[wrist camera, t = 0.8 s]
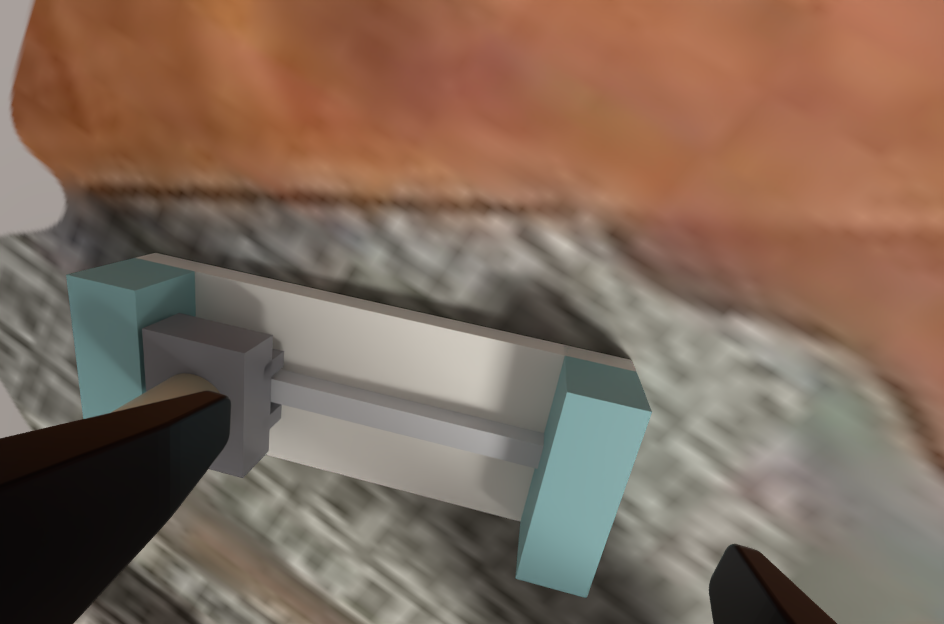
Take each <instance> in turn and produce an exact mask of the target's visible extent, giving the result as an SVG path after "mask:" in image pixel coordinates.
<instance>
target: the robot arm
mask: <svg viewBox="0 0 944 624" xmlns="http://www.w3.org/2000/svg"><path fill="white" fill-rule="evenodd" d="M230 425H231V399H230V398H229V397H228V396H227V395H224V394H220V393H217V392H214V391H209V390H206V391H201V392H197V393H193V394H189V395H184V396H180V397H176V398H172V399H167V400H163V401H159V402H154V403H150V404H146V405H142V406H137V407H133V408H129V409H124V410H120V411H116V412H112V413H107V414H103V415H99V416H94V417H90V418H86V419H82V420H77V421H73V422H69V423H65V424H60V425H56V426H52V427H47V428H43V429H39V430H35V431H30V432H26V433H22V434H17V435H14V436H9V437H5V438H0V624H73V623H74V622H75V621H76V620H77V619H78V618H79V617H80V616H81V615H82V614H83V613H84V612H85V610H86V609H87V608H88V607H89V606H90V605H91V604H92V603H93V602H94V601H95V600H96V599H97V597H98V596H99V595H100V594H101V593H102V592H103V591H104V590H105V589H106V588H107V587H108V586H109V584H110V583H111V582H112V581H113V580H114V579H115V578H116V577H117V576H118V575H119V574H120V573H121V571H122V570H123V569H124V568H125V567H126V566H127V565H128V564H129V563H130V562H131V561H132V560H133V558H134V557H135V556H136V555H137V554H138V553H139V552H140V551H141V550H142V549H143V548H144V547H145V545H146V544H147V543H148V542H149V541H150V540H151V539H152V538H153V537H154V536H155V535H156V534H157V532H158V531H159V530H160V529H161V528H162V527H163V526H164V525H165V524H166V522H167V521H168V520H169V519H170V518H171V517H172V515H173V514H174V513H175V512H176V510H177V509H178V508H179V507H180V505H181V504H182V503H183V502H184V500H185V499H186V498H187V496H188V495H189V494H190V492H191V491H192V490H193V488H194V487H195V486H196V484H197V483H198V482H199V480H200V479H201V478H202V477H203V475H204V474H205V473H206V471H207V470H208V469H209V467H210V466H211V465H212V463H213V462H214V461H215V459H216V458H217V457H218V456H219V454H220V453H221V452H222V450H223V449H224V447H225V446H226V444H227V442H228V440H229V436H230ZM709 596H710V603H711V610H712V616H713V623H714V624H837V623H836V622H835V621H834V620H833V619H832V618H830V617H829V616H828V615H827V614H826V613H825V612H824V611H823V610H822V609H821V608H820V607H819V606H818V605H816V604H815V603H814V602H813V601H812V600H811V599H810V598H809V597H808V596H807V595H806V594H805V593H804V592H802V591H801V590H800V589H799V588H798V587H797V586H796V585H795V584H794V583H793V582H792V581H791V580H790V579H789V578H787V577H786V576H785V575H784V574H783V573H782V572H781V571H780V570H779V569H778V568H777V567H776V566H775V565H773V564H772V563H771V562H770V561H769V560H768V559H767V558H766V557H765V556H764V555H763V554H762V553H760V552H759V551H757V550H755V549H752V548H748V547H745V546H741V545H738V544H731V545H730V546H728V547H727V549H726V550H725V552H724V554H723V556H722V558H721V560H720V562H719V564H718V566H717V567H716V569H715V571H714V573H713V575H712V577H711V580H710V584H709Z"/></svg>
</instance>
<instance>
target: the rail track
mask: <svg viewBox="0 0 944 624" xmlns="http://www.w3.org/2000/svg"><path fill="white" fill-rule="evenodd" d="M66 277H67V286H68V294H69V302H70V311H71V319H72V328H73V336H74V344H75V353H76V361H77V369H78V378H79V386H80V395H81V403H82V411H83V419H86V418H90V417H94V416H99V415H103V414H107V413H111V412H112V411H114V410H116V409H118V408H119V407H121V406H123V405H124V404H126V403H128V402H130V401H131V400H133V399H135V398H136V397H138V396H140V395H142V394H143V393H145V392H146V382H145V367H144V351H143V336H142V328H145V327H147V326H149V325H152V324H154V323H156V322H159V321H161V320H163V319H166V318H168V317H171V316H173V315H175V314H178V313H182V314H186V315H190V316H194V317H199V318H203V319H207V320H211V321H216V322H220V323H224V324H228V325H232V326H237V327H241V328H245V329H249V330H253V331H258V332H262V333H266V334H270V335H273V349H277V350H281V351H284V367H283V368H281V369H280V370H279V371H277V372H276V373H275V374H274V375H272V376H271V402H274V403H278V404H281V405H282V411H281V419H280V420H279V421H278V422H277V423H276V424H275V425H274V426H273V427H272V428H271V429H270V431H269V451H268V452H267V453H266V454H265V455H269V456H273V457H277V458H280V459H284V460H288V461H292V462H296V463H299V464H303V465H307V466H311V467H315V468H318V469H322V470H326V471H330V472H334V473H337V474H341V475H345V476H349V477H353V478H356V479H360V480H364V481H368V482H372V483H375V484H379V485H383V486H387V487H391V488H394V489H398V490H402V491H406V492H410V493H413V494H417V495H421V496H425V497H429V498H433V499H436V500H440V501H444V502H448V503H452V504H455V505H459V506H463V507H467V508H471V509H474V510H478V511H482V512H486V513H490V514H493V515H497V516H501V517H505V518H509V519H512V520H516V521H520V532H519V543H518V554H517V566H516V577H515V579H519V580H522V581H526V582H530V583H533V584H537V585H541V586H544V587H548V588H552V589H555V590H559V591H562V592H566V593H570V594H573V595H577V596H581V597H584V598H587V595H588V592H589V589H590V587H591V584H592V581H593V578H594V575H595V572H596V570H597V567H598V564H599V561H600V558H601V555H602V553H603V550H604V547H605V544H606V541H607V538H608V536H609V533H610V530H611V527H612V524H613V521H614V518H615V516H616V513H617V510H618V507H619V504H620V501H621V499H622V496H623V493H624V490H625V487H626V484H627V482H628V479H629V476H630V473H631V470H632V467H633V465H634V462H635V459H636V456H637V453H638V450H639V447H640V445H641V442H642V439H643V436H644V433H645V430H646V428H647V425H648V422H649V419H650V416H651V413H652V411H651V408H650V406H649V403H648V401H647V398H646V395H645V393H644V390H643V388H642V385H641V382H640V380H639V377H638V375H637V372H636V369H635V367H634V364H633V362H632V360H630V359H625V358H621V357H616V356H612V355H607V354H603V353H599V352H594V351H590V350H585V349H581V348H576V347H572V346H567V345H563V344H559V343H554V342H550V341H545V340H541V339H536V338H532V337H527V336H523V335H519V334H514V333H510V332H505V331H501V330H496V329H492V328H488V327H483V326H479V325H474V324H470V323H465V322H461V321H456V320H452V319H448V318H443V317H439V316H434V315H430V314H425V313H421V312H416V311H412V310H408V309H403V308H399V307H394V306H390V305H385V304H381V303H377V302H372V301H368V300H363V299H359V298H354V297H350V296H345V295H341V294H337V293H332V292H328V291H323V290H319V289H314V288H310V287H305V286H301V285H297V284H292V283H288V282H283V281H279V280H274V279H270V278H265V277H261V276H257V275H252V274H248V273H243V272H239V271H234V270H230V269H226V268H221V267H217V266H212V265H208V264H203V263H199V262H194V261H190V260H186V259H181V258H177V257H172V256H168V255H163V254H159V253H152V254H148V255H144V256H140V257H136V258H132V259H128V260H124V261H120V262H116V263H112V264H108V265H104V266H99V267H95V268H91V269H87V270H83V271H79V272H75V273H71V274H67V275H66Z"/></svg>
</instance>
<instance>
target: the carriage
mask: <svg viewBox="0 0 944 624" xmlns="http://www.w3.org/2000/svg"><path fill="white" fill-rule="evenodd" d="M142 336H143V351H144V367H145V382H146V392H145V393H143V394H142V395H140V396H138V397H136V398H135V399H133V400H131V401H130V402H128V403H126V404H124V405H123V406H121V407H119V408H118V409H116V410H114V411H112V412H116V411H120V410H124V409H129V408H133V407H137V406H142V405H146V404H150V403H154V402H159V401H163V400H167V399H172V398H176V397H180V396H184V395H189V394H193V393H197V392H201V391H206V390H209V391H214V392H217V393H220V394H224V395H227V396H228V397H229V398H230V399H231V425H230V436H229V440H228V442H227V444H226V446H225V447H224V449H223V450H222V452H221V453H220V454H219V456H218V457H217V458H216V459H215V461H214V462H213V463H212V465H211V466H210V467H209V469H211V470H215V471H218V472H222V473H226V474H229V475H233V476H237V477H241V478H243V477H244V476H245V475H246V474H247V473H248V472H249V471H250V470H251V469H252V468H253V467H254V466H255V465H256V464H257V463H258V462H259V461H260V460H261V459H262V458H263V456H264V455H265V454H266V453H267V452H268V451H269V431H270V429H271V428H272V427H273V426H274V425H275V424H276V423H277V422H278V421H279V420H280V419H281V411H282V405H281V404H278V403H274V402H271V376H272V375H274V374H275V373H276V372H277V371H279V370H280V369H281V368H283V367H284V351H281V350H277V349H273V335H270V334H266V333H262V332H258V331H253V330H249V329H245V328H241V327H237V326H232V325H228V324H224V323H220V322H216V321H211V320H207V319H203V318H199V317H194V316H190V315H186V314H182V313H178V314H175V315H173V316H171V317H168V318H166V319H163V320H161V321H159V322H156V323H154V324H152V325H149V326H147V327H145V328H142ZM112 412H111V413H112Z"/></svg>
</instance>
